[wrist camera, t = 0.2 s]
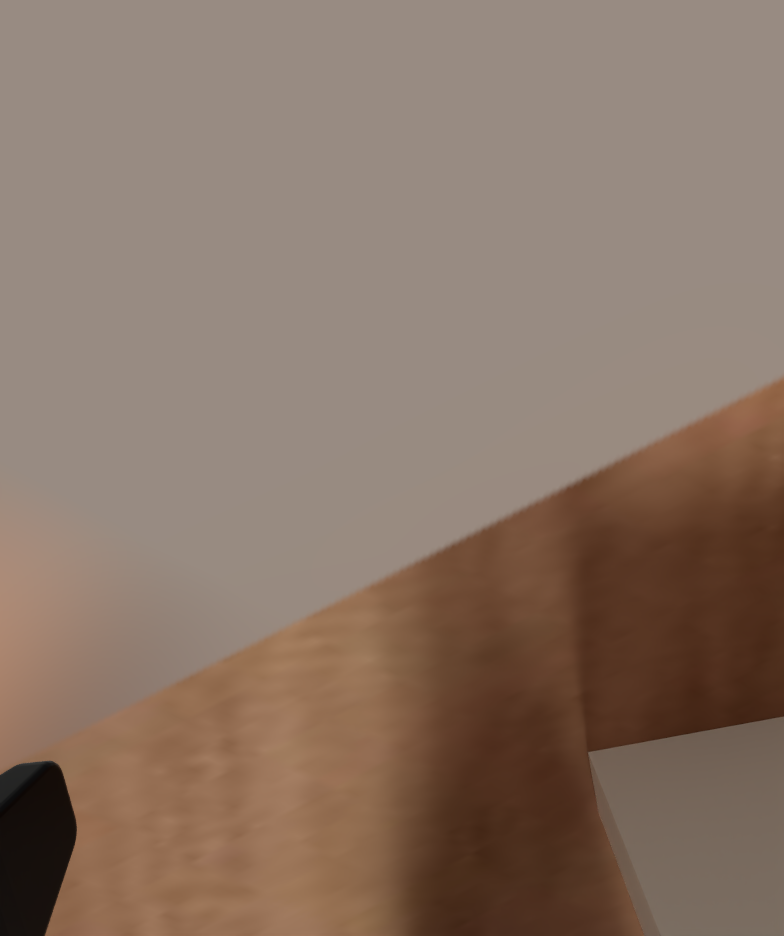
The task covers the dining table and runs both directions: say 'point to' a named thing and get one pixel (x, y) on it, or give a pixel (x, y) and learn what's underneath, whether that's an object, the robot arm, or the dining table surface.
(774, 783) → the white rectangular block
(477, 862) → the dining table surface
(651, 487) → the dining table surface
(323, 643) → the dining table surface
